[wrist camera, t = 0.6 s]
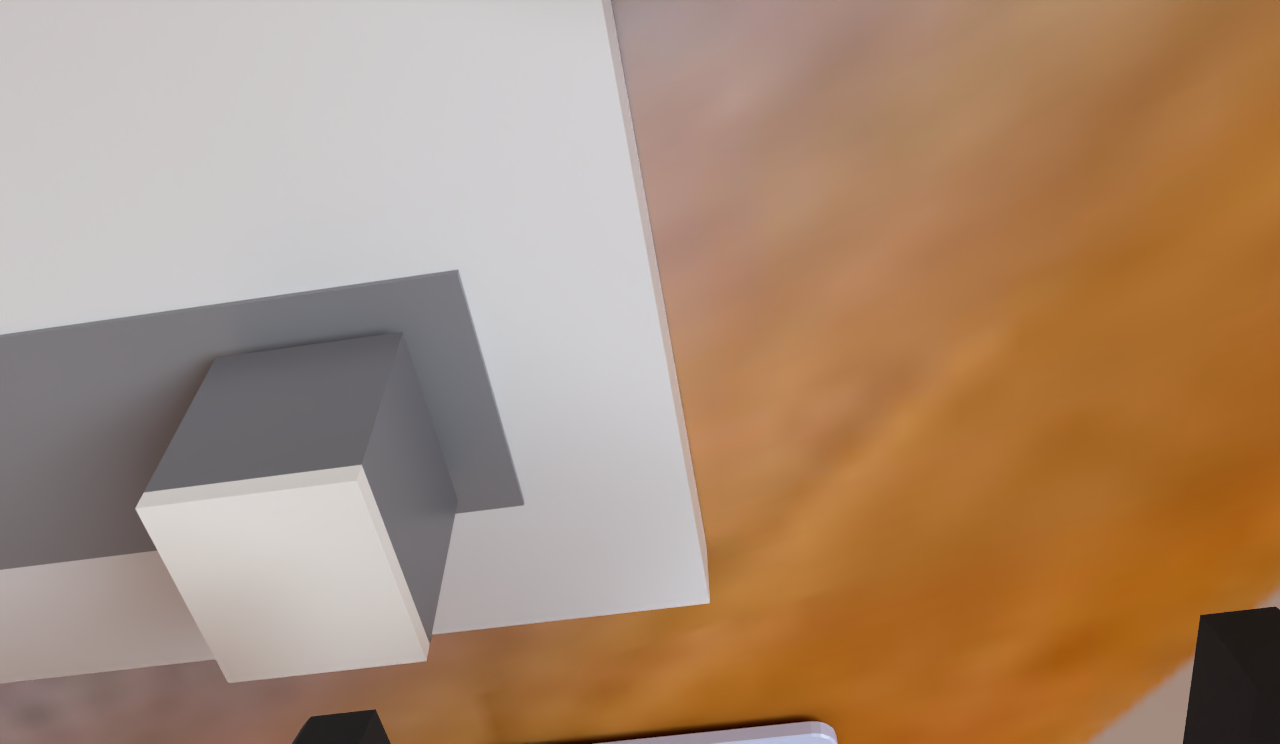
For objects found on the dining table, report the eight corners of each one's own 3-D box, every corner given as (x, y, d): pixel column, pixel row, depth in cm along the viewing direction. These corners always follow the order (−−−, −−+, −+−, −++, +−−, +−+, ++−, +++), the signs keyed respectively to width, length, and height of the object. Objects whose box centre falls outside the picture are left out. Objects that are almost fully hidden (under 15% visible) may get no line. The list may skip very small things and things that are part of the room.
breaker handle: (458, 500, 19) (426, 661, 16) (287, 521, 19) (228, 683, 16) (403, 332, 17) (356, 480, 14) (215, 358, 17) (134, 509, 14)
